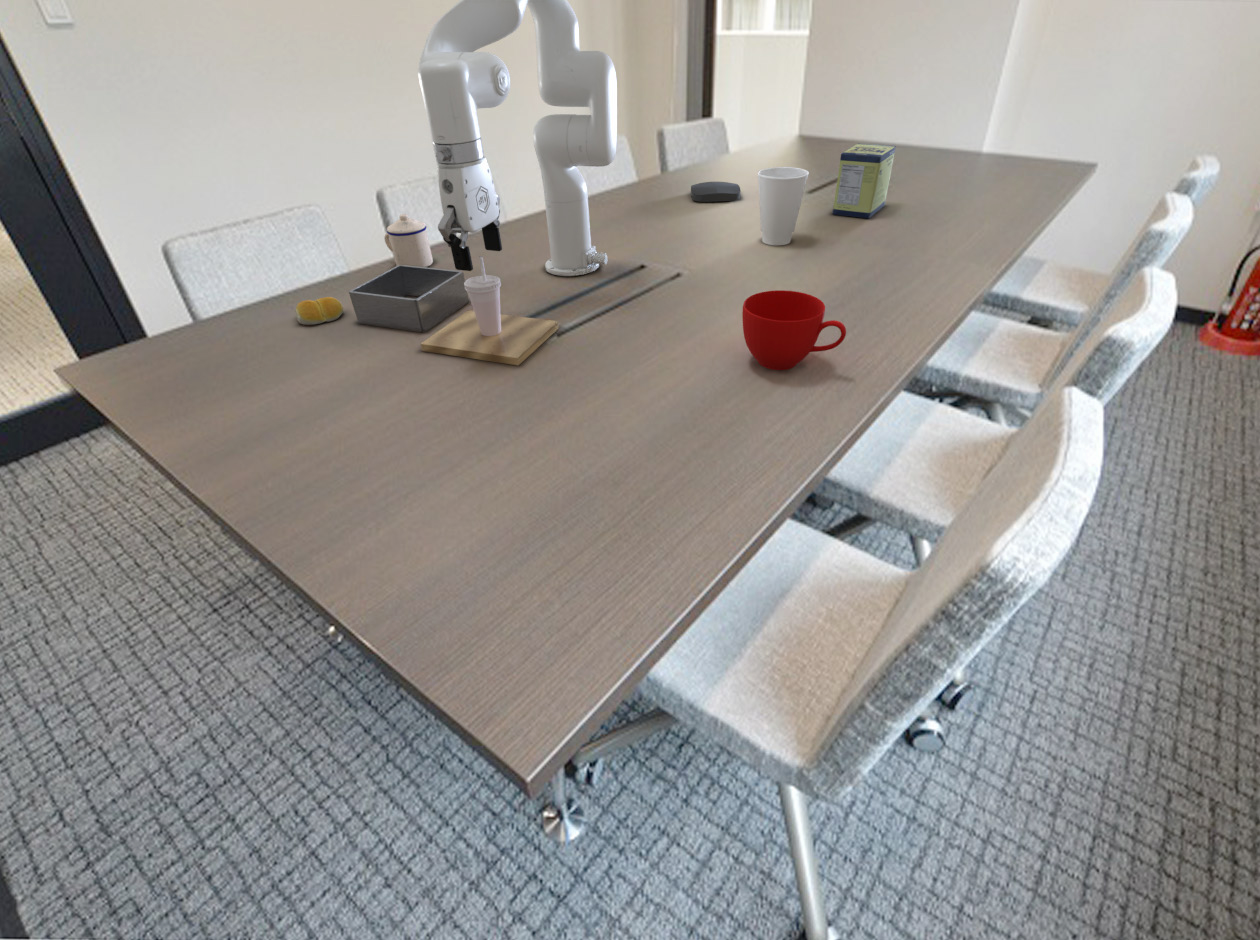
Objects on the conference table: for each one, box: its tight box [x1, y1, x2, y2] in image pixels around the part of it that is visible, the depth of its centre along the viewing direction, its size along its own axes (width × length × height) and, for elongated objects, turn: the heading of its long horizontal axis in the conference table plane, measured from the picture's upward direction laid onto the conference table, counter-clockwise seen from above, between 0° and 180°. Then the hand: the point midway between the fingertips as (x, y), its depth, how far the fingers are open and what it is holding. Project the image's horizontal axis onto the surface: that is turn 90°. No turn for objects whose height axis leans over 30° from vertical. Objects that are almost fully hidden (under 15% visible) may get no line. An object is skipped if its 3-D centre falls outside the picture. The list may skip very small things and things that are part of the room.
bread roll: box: [294, 296, 344, 326], centre depth 130 cm, size 8×9×4 cm
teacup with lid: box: [383, 213, 434, 268], centre depth 153 cm, size 12×9×12 cm
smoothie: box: [464, 255, 502, 336], centre depth 115 cm, size 6×6×14 cm
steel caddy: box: [348, 265, 470, 333], centre depth 130 cm, size 16×16×6 cm
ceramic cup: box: [741, 289, 847, 371], centre depth 105 cm, size 13×17×10 cm
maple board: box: [420, 309, 560, 366], centre depth 119 cm, size 20×16×2 cm
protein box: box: [832, 143, 896, 219], centre depth 175 cm, size 10×16×16 cm
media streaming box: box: [690, 181, 742, 203], centre depth 196 cm, size 15×15×3 cm
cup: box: [757, 166, 810, 246], centre depth 155 cm, size 12×12×16 cm
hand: (479, 259), depth 111 cm, fingers open, 9 cm apart
